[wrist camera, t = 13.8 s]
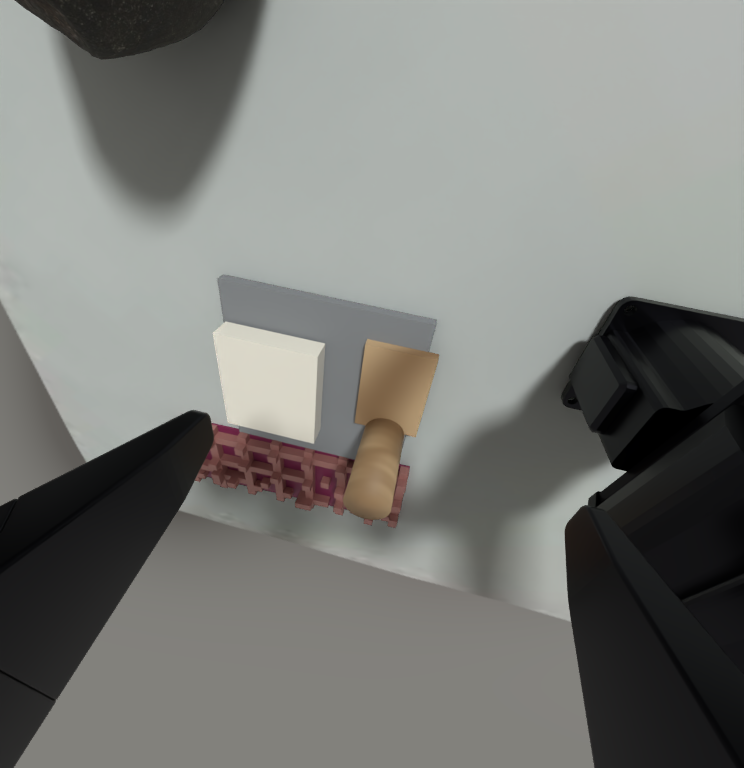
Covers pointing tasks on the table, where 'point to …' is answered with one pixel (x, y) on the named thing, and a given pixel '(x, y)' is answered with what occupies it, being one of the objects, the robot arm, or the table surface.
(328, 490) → the red lattice rack
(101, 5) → the stone
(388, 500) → the turner
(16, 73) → the table surface
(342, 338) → the mat
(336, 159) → the table surface
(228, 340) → the tile
